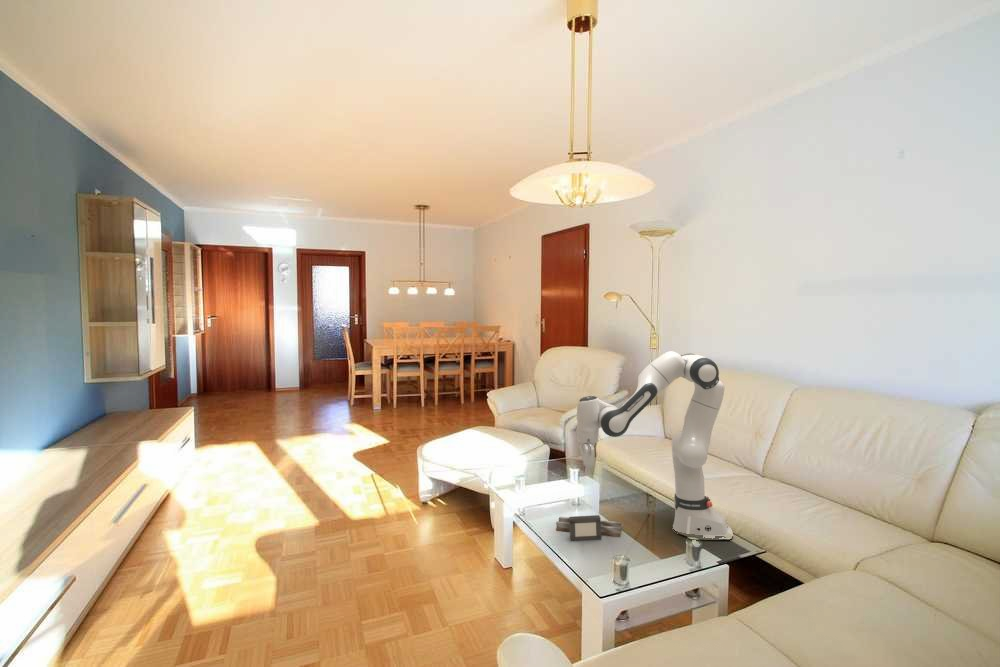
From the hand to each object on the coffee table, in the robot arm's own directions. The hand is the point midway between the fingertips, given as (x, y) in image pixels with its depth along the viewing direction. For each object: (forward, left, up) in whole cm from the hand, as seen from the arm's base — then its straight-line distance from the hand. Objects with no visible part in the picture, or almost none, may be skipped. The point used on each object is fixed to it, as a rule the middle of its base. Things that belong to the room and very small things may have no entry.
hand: (586, 469), depth 196 cm
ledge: (+1, -4, -26) cm, 27 cm away
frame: (+1, +5, -27) cm, 27 cm away
